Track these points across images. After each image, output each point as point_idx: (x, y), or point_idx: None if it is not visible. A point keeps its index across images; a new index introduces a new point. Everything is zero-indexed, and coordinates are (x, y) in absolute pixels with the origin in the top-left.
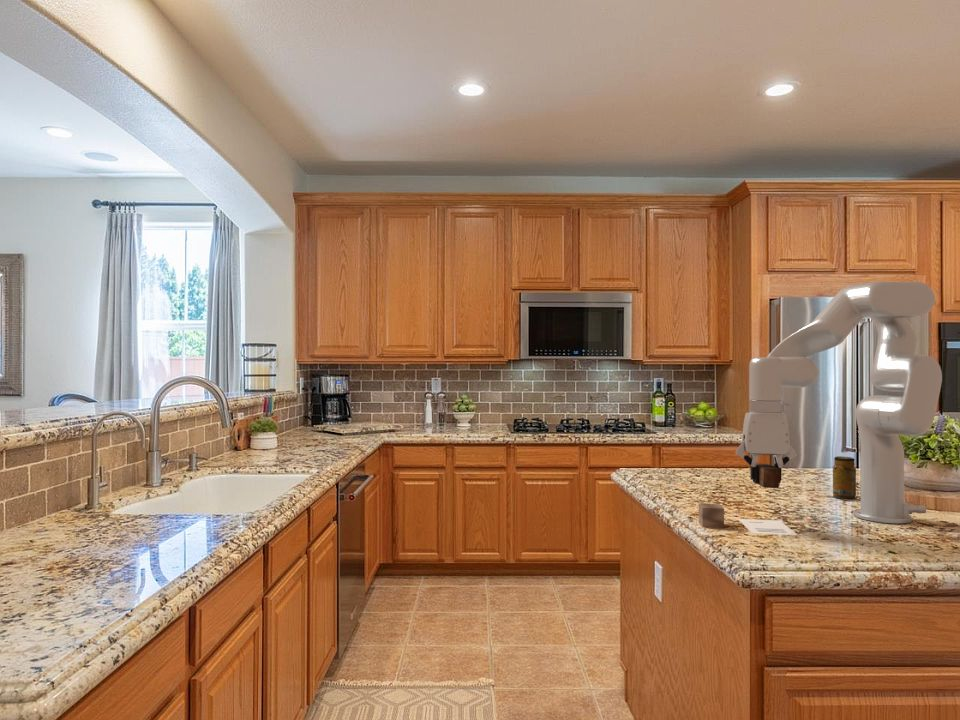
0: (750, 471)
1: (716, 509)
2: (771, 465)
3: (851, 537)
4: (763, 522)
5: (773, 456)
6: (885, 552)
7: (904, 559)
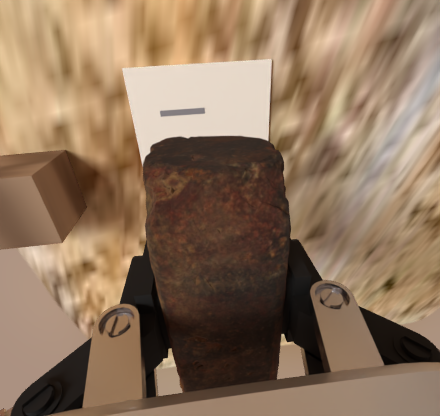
0: (125, 284)
1: (38, 242)
2: (272, 314)
3: (384, 207)
4: (207, 108)
5: (327, 365)
6: (377, 288)
7: (379, 312)
